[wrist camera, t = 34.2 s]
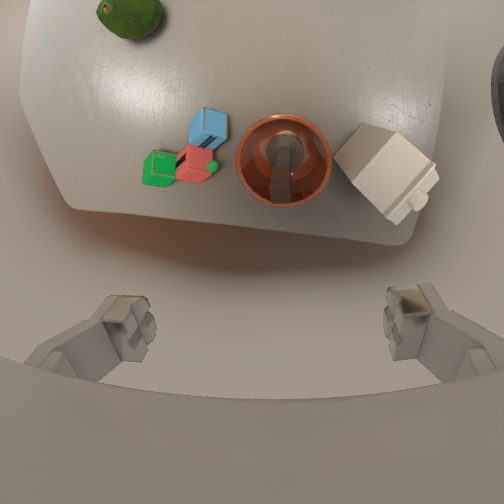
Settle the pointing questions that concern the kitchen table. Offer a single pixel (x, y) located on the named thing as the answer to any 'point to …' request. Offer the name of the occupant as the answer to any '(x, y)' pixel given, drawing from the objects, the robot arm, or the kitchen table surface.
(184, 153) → the building blocks
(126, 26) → the avocado
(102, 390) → the robot arm
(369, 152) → the milk carton
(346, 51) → the kitchen table surface
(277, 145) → the ladle
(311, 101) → the kitchen table surface
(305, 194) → the crock
